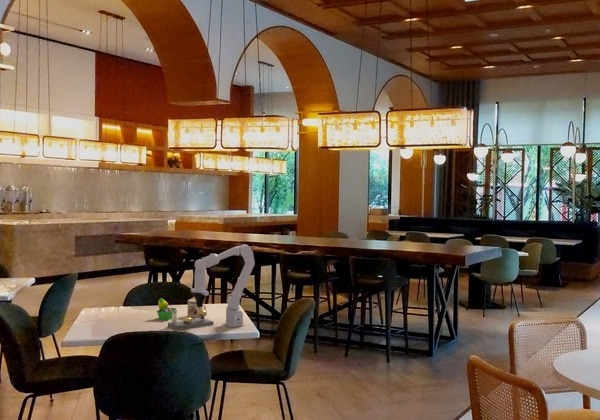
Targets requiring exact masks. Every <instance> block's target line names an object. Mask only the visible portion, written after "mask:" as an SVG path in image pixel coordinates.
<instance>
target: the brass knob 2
mask: <svg viewBox="0 0 600 420" xmlns="http://www.w3.org/2000/svg"><path fill="white" fill-rule="evenodd" d="M207 313H208V312H207V309H206V310H204V309H203V310H199V311H198V315H199V316H200V317H199V319H206V318H205V316H207Z"/></svg>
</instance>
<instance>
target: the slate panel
mask: <svg viewBox="0 0 600 420" xmlns="http://www.w3.org/2000/svg"><path fill="white" fill-rule="evenodd" d="M209 326H214V321H213V320H211V319H207V318H204V319H200V318H196V319H194V318H193V319H192V323H189V324H186V323H184V320H180V321H176V324H172V321H171V322H169V321H168V322H167V327H168V328H171V329H174V330H176V329H177V331H179V330H187V329H193V328H201V327H209Z"/></svg>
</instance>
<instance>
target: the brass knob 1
mask: <svg viewBox="0 0 600 420" xmlns="http://www.w3.org/2000/svg"><path fill="white" fill-rule="evenodd" d="M192 320H193V317H188V316H186V317H183V321H184V323H186V324H189V323H192Z"/></svg>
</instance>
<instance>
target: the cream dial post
mask: <svg viewBox="0 0 600 420" xmlns="http://www.w3.org/2000/svg"><path fill="white" fill-rule="evenodd" d="M177 313H178V310H177V309H176V310H172V319H171V322H172V324H176V322H177V320H178V319H177V318H178V316H177Z"/></svg>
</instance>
